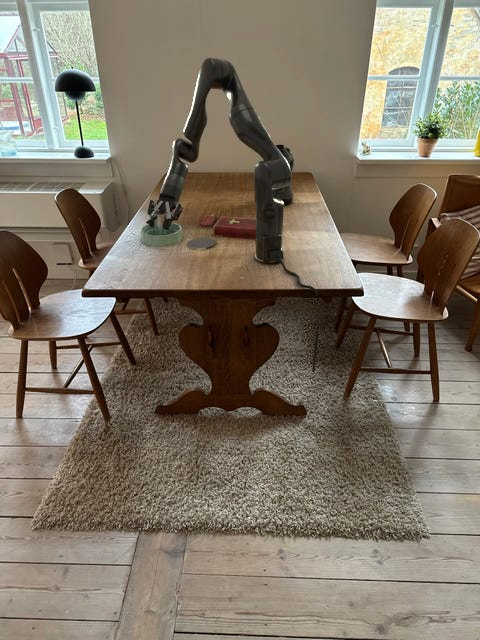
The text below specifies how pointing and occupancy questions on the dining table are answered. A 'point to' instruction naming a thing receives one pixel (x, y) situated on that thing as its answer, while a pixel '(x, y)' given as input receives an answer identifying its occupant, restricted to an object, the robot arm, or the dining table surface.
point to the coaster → (201, 243)
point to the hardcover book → (235, 227)
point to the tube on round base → (159, 222)
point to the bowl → (163, 240)
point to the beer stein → (286, 192)
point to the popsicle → (208, 220)
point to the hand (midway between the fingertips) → (158, 227)
